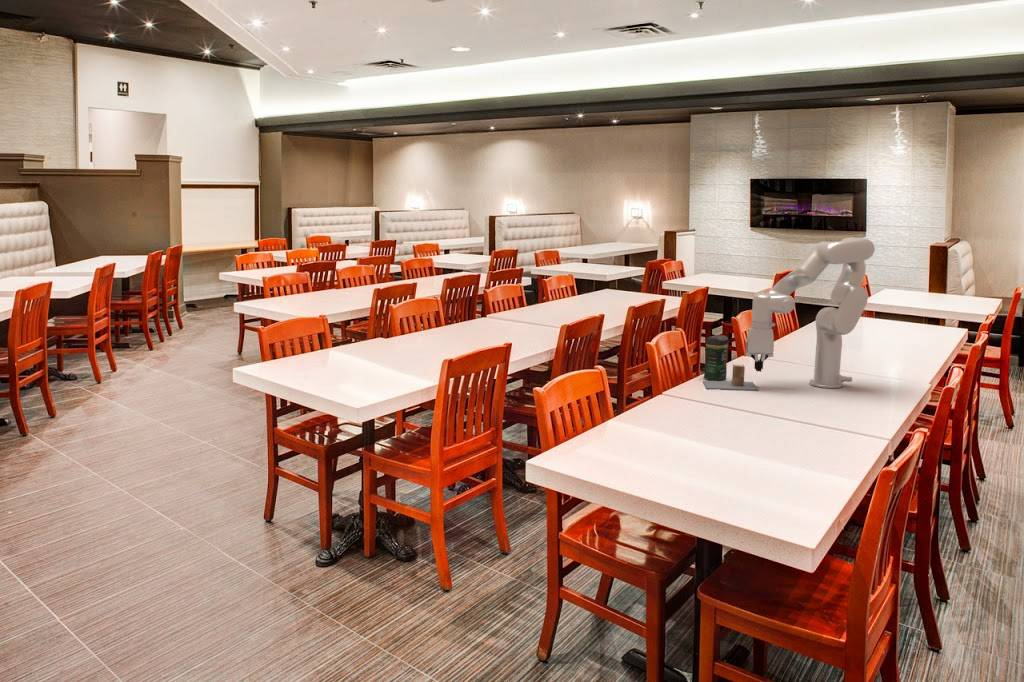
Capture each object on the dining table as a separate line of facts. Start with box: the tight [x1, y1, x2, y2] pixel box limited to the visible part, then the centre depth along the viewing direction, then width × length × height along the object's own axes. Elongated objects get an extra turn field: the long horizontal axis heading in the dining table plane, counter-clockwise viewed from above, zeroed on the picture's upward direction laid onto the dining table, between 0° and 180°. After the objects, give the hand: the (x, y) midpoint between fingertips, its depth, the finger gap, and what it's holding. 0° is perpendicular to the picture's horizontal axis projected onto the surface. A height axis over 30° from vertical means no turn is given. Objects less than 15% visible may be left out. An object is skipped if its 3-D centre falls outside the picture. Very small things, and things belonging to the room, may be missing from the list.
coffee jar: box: [703, 334, 729, 381], centre depth 315 cm, size 10×8×19 cm
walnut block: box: [731, 364, 746, 386], centre depth 303 cm, size 4×4×8 cm
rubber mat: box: [702, 380, 759, 392], centre depth 304 cm, size 20×13×1 cm, turn 83°
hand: (758, 370), depth 301 cm, fingers closed
